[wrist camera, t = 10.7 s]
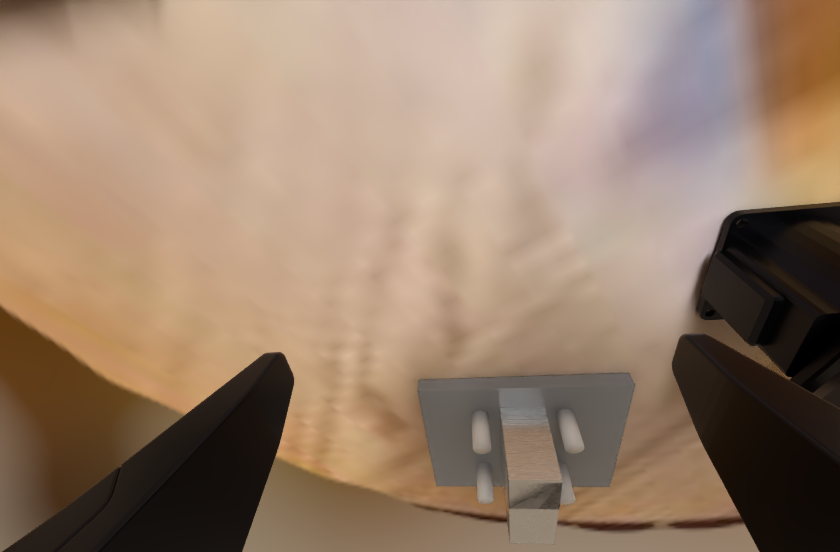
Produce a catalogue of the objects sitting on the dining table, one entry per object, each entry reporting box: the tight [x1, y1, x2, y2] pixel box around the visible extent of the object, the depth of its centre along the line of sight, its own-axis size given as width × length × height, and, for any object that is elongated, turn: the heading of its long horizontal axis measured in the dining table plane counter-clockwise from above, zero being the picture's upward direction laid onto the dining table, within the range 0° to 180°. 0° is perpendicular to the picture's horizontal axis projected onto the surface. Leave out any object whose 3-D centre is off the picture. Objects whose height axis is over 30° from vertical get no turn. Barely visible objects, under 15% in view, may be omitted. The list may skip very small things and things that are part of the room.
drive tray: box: [418, 373, 635, 505], centre depth 28 cm, size 14×12×4 cm
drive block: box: [500, 407, 562, 544], centre depth 26 cm, size 3×8×5 cm, turn 8°
